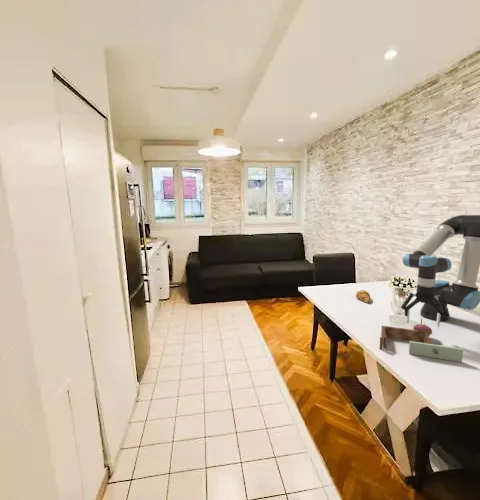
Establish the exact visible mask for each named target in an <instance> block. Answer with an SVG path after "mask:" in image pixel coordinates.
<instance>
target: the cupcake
mask: <svg viewBox="0 0 480 500" xmlns="http://www.w3.org/2000/svg"><path fill="white" fill-rule="evenodd" d="M412 330H420V331H426V332H427V334H428V336H429V337H430V335H432V334H433V329H432V328H431V327H430V326H428V325H426V324H423V318H420V324H416V325H414V326H413V328H412Z"/></svg>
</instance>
